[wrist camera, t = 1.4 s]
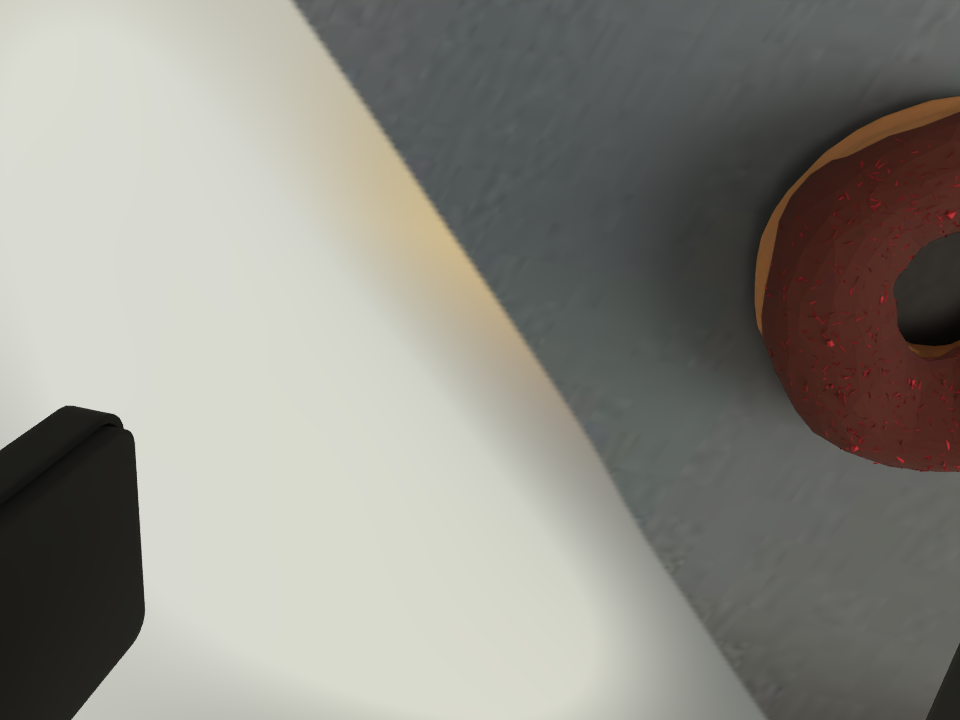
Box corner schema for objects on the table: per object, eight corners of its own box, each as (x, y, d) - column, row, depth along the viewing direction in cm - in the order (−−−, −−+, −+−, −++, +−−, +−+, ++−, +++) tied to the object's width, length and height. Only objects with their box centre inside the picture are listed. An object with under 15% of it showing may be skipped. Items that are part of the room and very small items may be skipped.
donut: (834, 43, 23) (864, 54, 20) (1209, 151, 23) (1311, 183, 19) (698, 371, 28) (703, 429, 24) (1009, 470, 27) (1060, 546, 23)
